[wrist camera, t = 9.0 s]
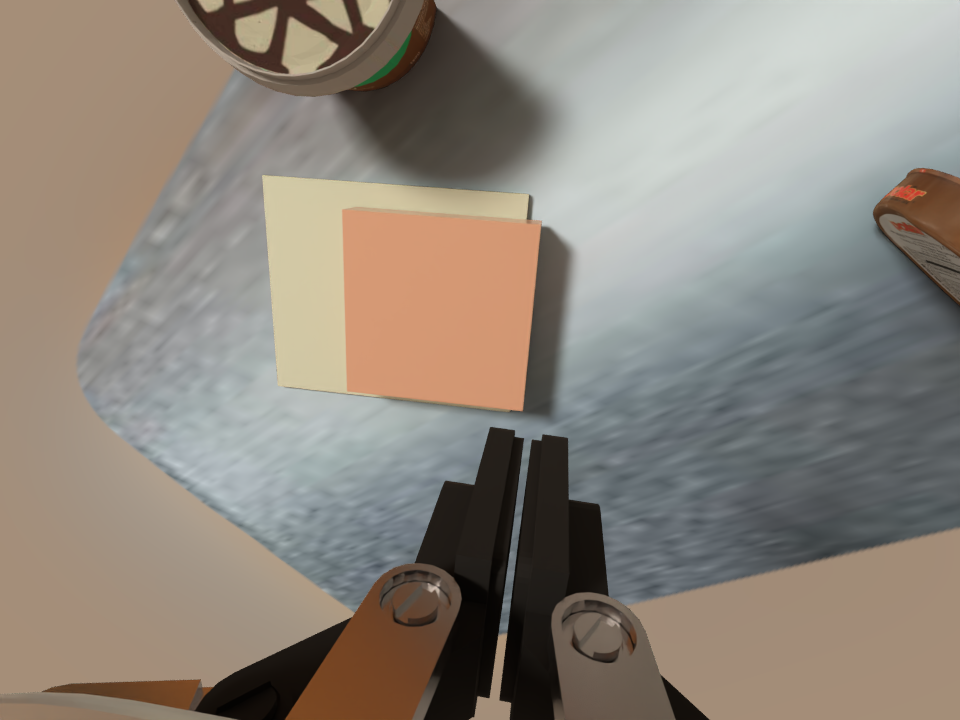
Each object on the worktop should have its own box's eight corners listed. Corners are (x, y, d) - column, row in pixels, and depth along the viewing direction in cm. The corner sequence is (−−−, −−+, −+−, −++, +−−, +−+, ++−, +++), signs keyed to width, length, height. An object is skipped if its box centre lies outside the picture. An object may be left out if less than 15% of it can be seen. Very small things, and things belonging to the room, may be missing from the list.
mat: (528, 194, 34) (528, 194, 33) (509, 409, 39) (509, 412, 39) (265, 175, 36) (262, 175, 35) (280, 383, 41) (278, 385, 40)
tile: (540, 224, 31) (342, 209, 32) (522, 411, 35) (347, 391, 37) (542, 220, 34) (358, 206, 35) (524, 394, 38) (361, 376, 39)
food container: (259, 97, 34) (146, 71, 25) (258, -16, 32) (134, -93, 22) (449, 125, 33) (407, 109, 24) (461, 10, 31) (421, -58, 22)
